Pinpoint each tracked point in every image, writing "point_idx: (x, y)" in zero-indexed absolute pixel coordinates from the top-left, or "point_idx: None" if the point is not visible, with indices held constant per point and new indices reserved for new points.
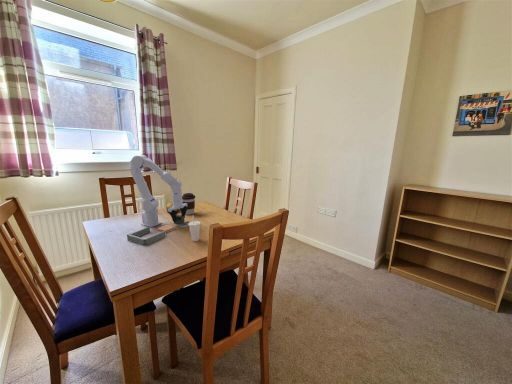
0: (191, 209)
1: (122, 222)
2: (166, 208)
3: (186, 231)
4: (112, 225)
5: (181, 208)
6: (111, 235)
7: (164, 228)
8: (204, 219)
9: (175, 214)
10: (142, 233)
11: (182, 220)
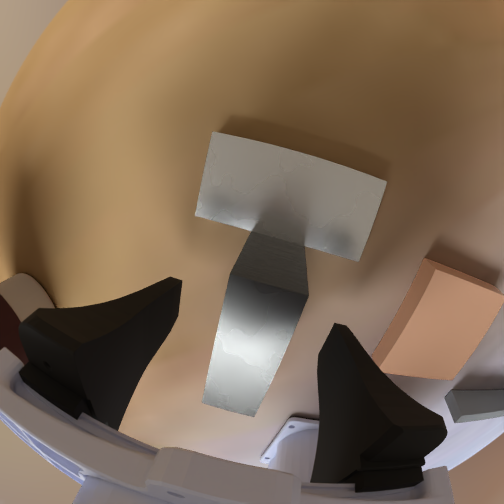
0: (7, 300)
1: None
2: None
3: (461, 101)
4: None
5: (110, 414)
6: (444, 458)
7: (466, 332)
8: (77, 87)
9: (393, 398)
10: (483, 395)
11: (285, 256)
